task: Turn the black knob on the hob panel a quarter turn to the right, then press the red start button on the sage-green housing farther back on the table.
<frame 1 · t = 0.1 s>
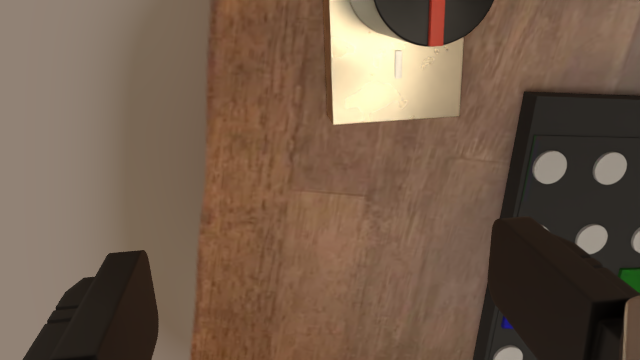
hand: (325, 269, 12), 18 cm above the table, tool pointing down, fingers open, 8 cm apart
remote control: (555, 305, 36), on the table
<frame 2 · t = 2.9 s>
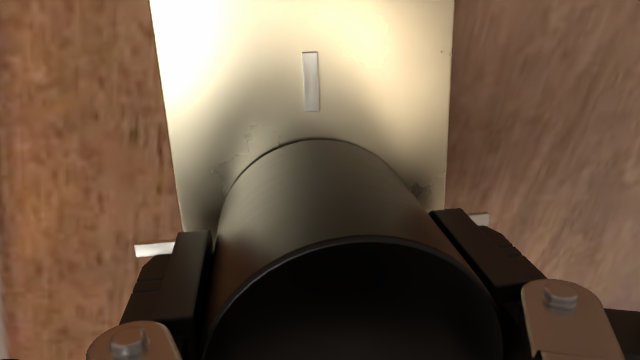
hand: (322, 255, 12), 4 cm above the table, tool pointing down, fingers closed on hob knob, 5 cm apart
hob panel: (308, 197, 16), on the table
hob knob: (333, 293, 11), point 5 cm above the table, hinge at 0.2°, touching gripper
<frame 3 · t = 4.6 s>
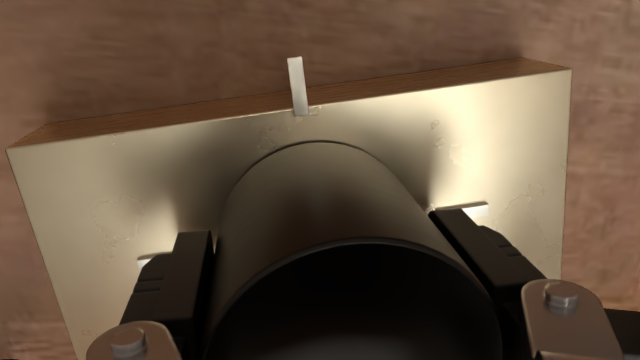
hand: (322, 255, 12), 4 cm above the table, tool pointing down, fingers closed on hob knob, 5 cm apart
hob panel: (308, 200, 16), on the table
hob knob: (333, 295, 11), point 5 cm above the table, hinge at -96.5°, touching gripper
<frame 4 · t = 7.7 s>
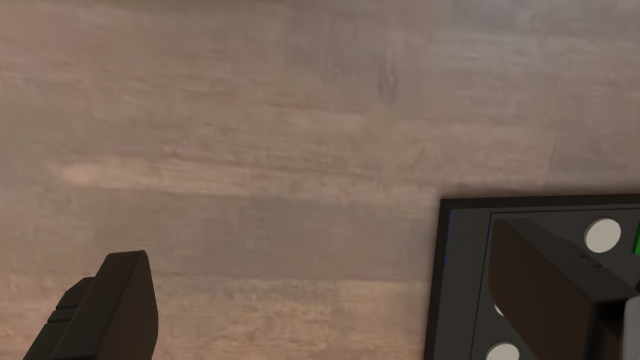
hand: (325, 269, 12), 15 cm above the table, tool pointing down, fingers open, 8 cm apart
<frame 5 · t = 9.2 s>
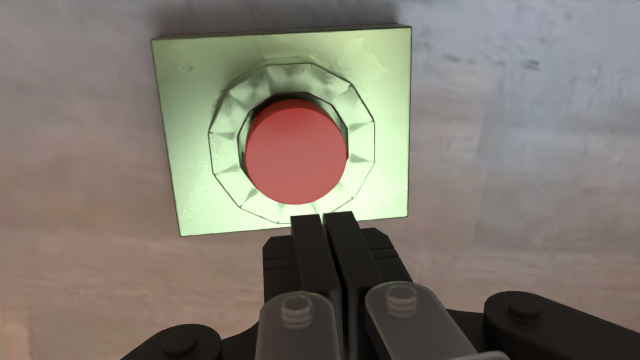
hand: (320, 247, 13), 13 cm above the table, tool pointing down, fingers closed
start button: (294, 151, 21), point 5 cm above the table, slide at 0.2 cm
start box: (287, 124, 25), on the table
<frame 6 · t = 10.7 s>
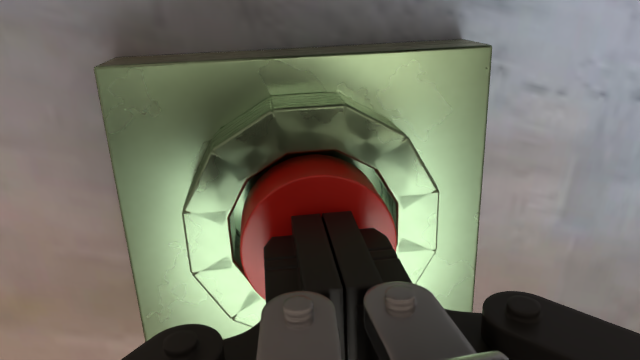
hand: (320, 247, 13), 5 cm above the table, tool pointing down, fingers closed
start button: (316, 234, 14), point 4 cm above the table, slide at -0.2 cm, touching gripper
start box: (302, 182, 18), on the table
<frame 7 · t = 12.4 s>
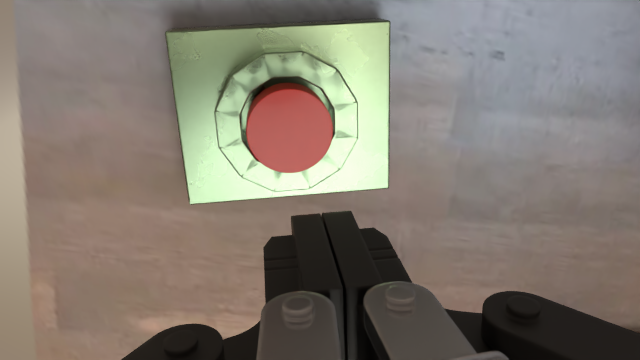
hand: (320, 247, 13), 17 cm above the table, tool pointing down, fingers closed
start button: (288, 127, 24), point 5 cm above the table, slide at 0.2 cm
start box: (283, 107, 28), on the table
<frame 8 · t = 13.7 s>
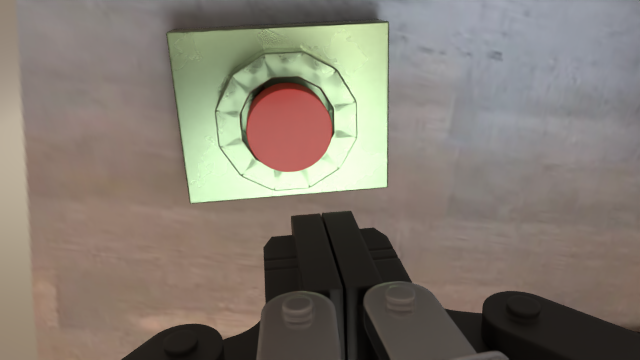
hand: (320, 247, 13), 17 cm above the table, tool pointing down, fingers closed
start button: (288, 127, 24), point 5 cm above the table, slide at 0.2 cm
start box: (283, 107, 29), on the table
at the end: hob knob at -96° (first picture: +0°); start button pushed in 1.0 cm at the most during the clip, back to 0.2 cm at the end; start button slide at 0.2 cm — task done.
